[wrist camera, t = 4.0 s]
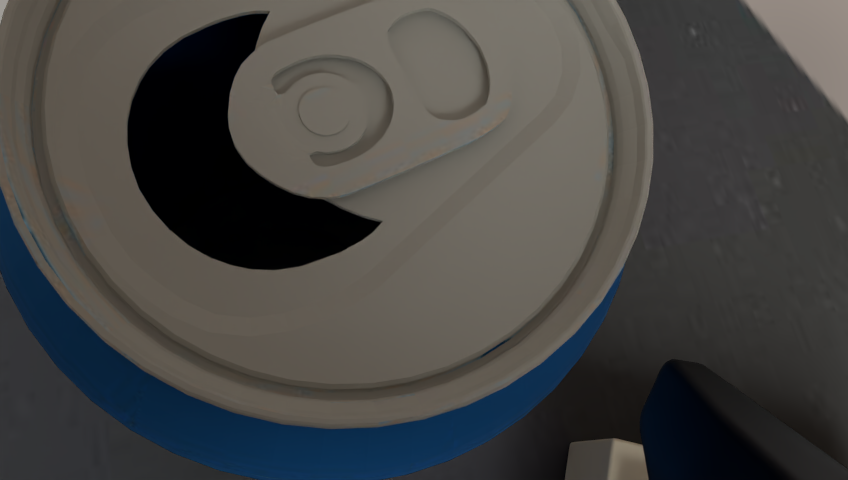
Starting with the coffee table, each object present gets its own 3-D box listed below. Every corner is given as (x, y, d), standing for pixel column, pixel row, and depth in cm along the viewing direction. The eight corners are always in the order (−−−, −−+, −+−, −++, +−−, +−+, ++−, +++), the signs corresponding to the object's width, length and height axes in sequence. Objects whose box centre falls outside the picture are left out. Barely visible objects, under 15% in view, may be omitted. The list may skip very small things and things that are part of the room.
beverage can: (87, 263, 18) (-205, -111, 6) (348, 151, 20) (483, -285, 8) (214, 535, 17) (140, 673, 5) (475, 389, 19) (825, 261, 7)
